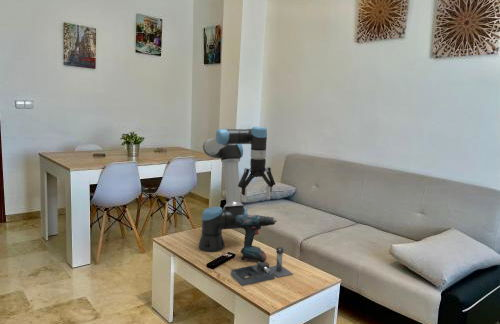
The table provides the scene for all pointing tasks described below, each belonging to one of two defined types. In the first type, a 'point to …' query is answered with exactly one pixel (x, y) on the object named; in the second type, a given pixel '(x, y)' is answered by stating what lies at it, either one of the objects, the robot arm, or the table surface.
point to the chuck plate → (253, 274)
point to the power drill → (252, 235)
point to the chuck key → (279, 259)
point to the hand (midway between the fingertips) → (256, 200)
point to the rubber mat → (280, 274)
